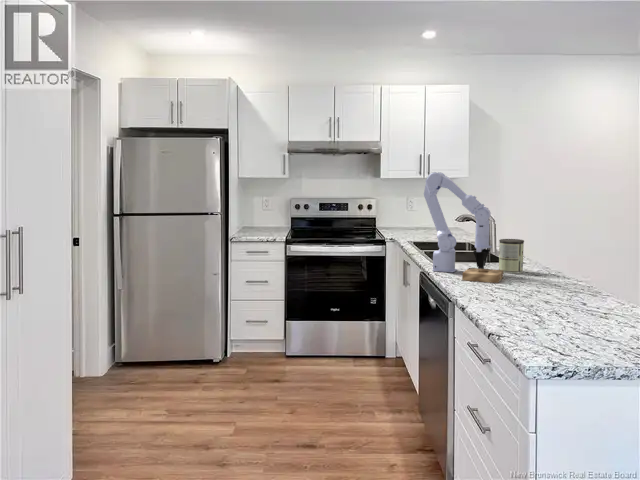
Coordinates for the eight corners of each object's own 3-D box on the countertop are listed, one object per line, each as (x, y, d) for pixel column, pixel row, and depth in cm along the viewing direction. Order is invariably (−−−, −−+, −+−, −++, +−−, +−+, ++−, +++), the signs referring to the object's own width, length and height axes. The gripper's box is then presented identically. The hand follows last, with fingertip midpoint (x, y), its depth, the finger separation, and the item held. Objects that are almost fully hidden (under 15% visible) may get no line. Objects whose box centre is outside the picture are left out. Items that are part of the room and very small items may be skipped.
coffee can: (496, 269, 252) (497, 238, 250) (519, 270, 251) (520, 238, 249) (501, 273, 242) (502, 241, 240) (525, 273, 241) (526, 241, 239)
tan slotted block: (462, 280, 226) (462, 272, 225) (468, 274, 238) (469, 267, 238) (498, 282, 220) (498, 275, 219) (503, 277, 232) (503, 270, 232)
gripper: (489, 237, 232) (487, 269, 233) (494, 234, 245) (493, 264, 246) (471, 236, 235) (470, 268, 236) (477, 233, 248) (477, 263, 249)
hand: (481, 266), depth 242 cm, fingers open, 5 cm apart
